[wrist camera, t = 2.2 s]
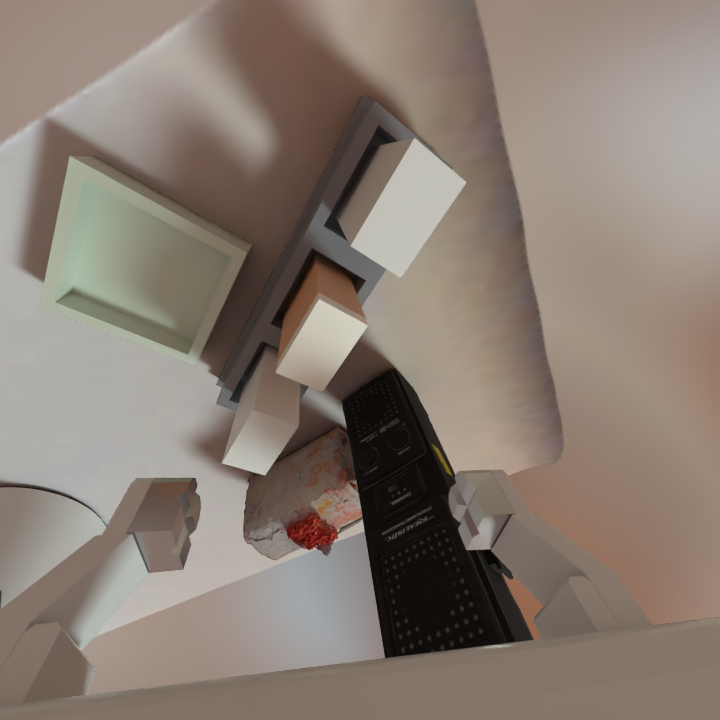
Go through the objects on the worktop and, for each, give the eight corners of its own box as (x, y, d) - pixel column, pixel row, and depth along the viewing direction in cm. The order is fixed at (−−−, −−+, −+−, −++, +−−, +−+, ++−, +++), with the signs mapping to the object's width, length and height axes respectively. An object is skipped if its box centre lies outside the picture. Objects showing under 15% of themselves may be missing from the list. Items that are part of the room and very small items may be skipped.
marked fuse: (317, 321, 28) (322, 392, 19) (285, 305, 27) (275, 372, 18) (348, 271, 26) (368, 325, 17) (315, 252, 25) (319, 299, 16)
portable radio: (399, 356, 32) (578, 737, 11) (429, 392, 35) (615, 747, 14) (337, 399, 34) (387, 799, 13) (370, 430, 37) (456, 797, 16)
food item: (341, 413, 35) (351, 493, 27) (377, 453, 39) (397, 533, 31) (242, 470, 37) (224, 559, 29) (287, 502, 41) (282, 588, 33)
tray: (203, 351, 29) (194, 366, 27) (62, 293, 25) (39, 306, 23) (252, 245, 25) (247, 252, 23) (93, 156, 21) (69, 155, 19)
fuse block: (287, 404, 33) (279, 499, 24) (218, 378, 30) (179, 474, 21) (441, 164, 24) (527, 166, 14) (362, 96, 21) (405, 45, 12)
